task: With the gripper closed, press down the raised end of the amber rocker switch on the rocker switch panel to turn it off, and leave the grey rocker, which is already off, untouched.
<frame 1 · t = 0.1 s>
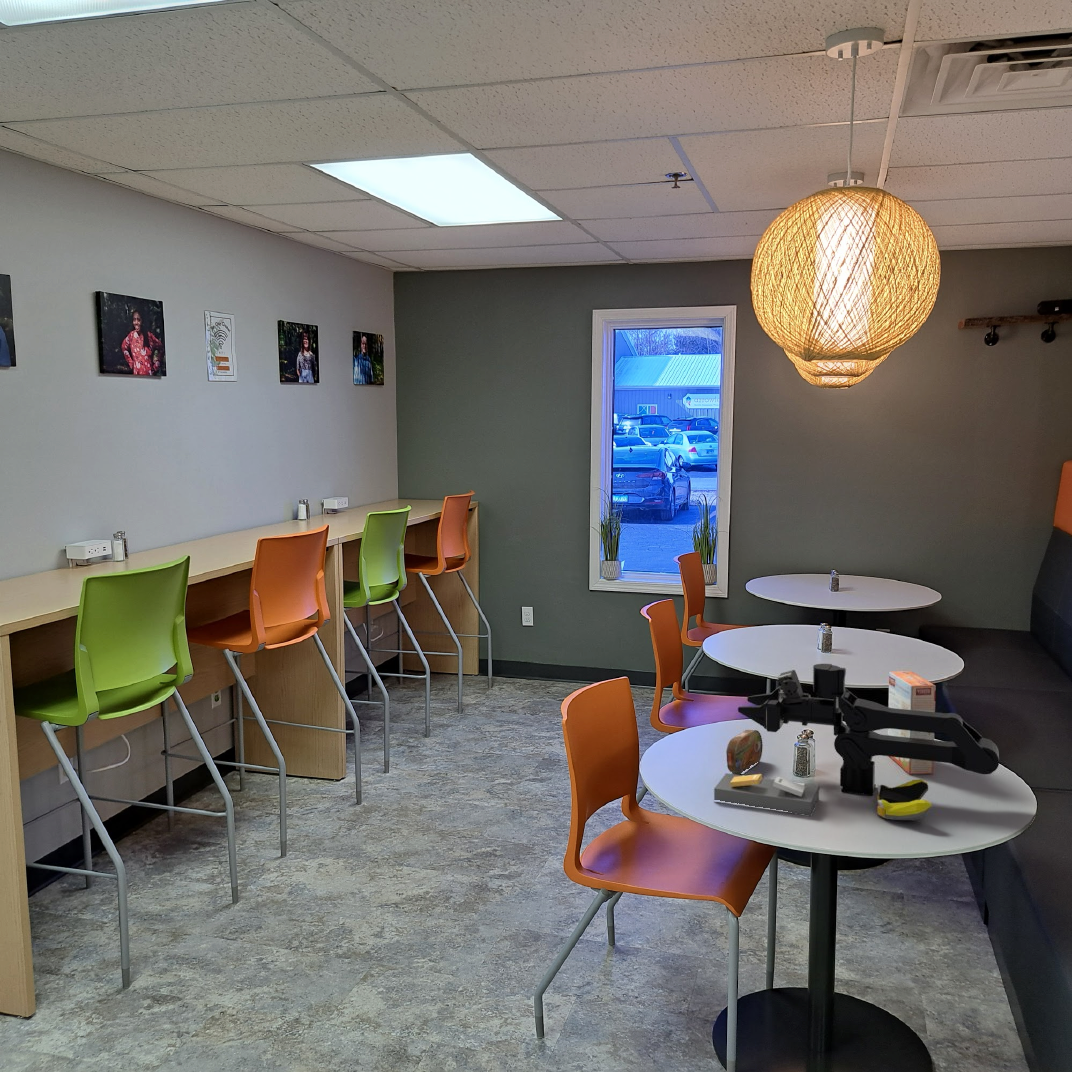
hand: (742, 704, 213), 17 cm above the table, tool horizontal, fingers open, 9 cm apart
rocker switch panel: (766, 800, 199), on the table
tin: (744, 769, 219), on the table
amber rocker: (746, 780, 199), point 4 cm above the table, hinge at 14.0°
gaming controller: (903, 814, 191), on the table
grey rocker: (789, 786, 195), point 4 cm above the table, hinge at -14.0°
cracker box: (910, 765, 219), on the table
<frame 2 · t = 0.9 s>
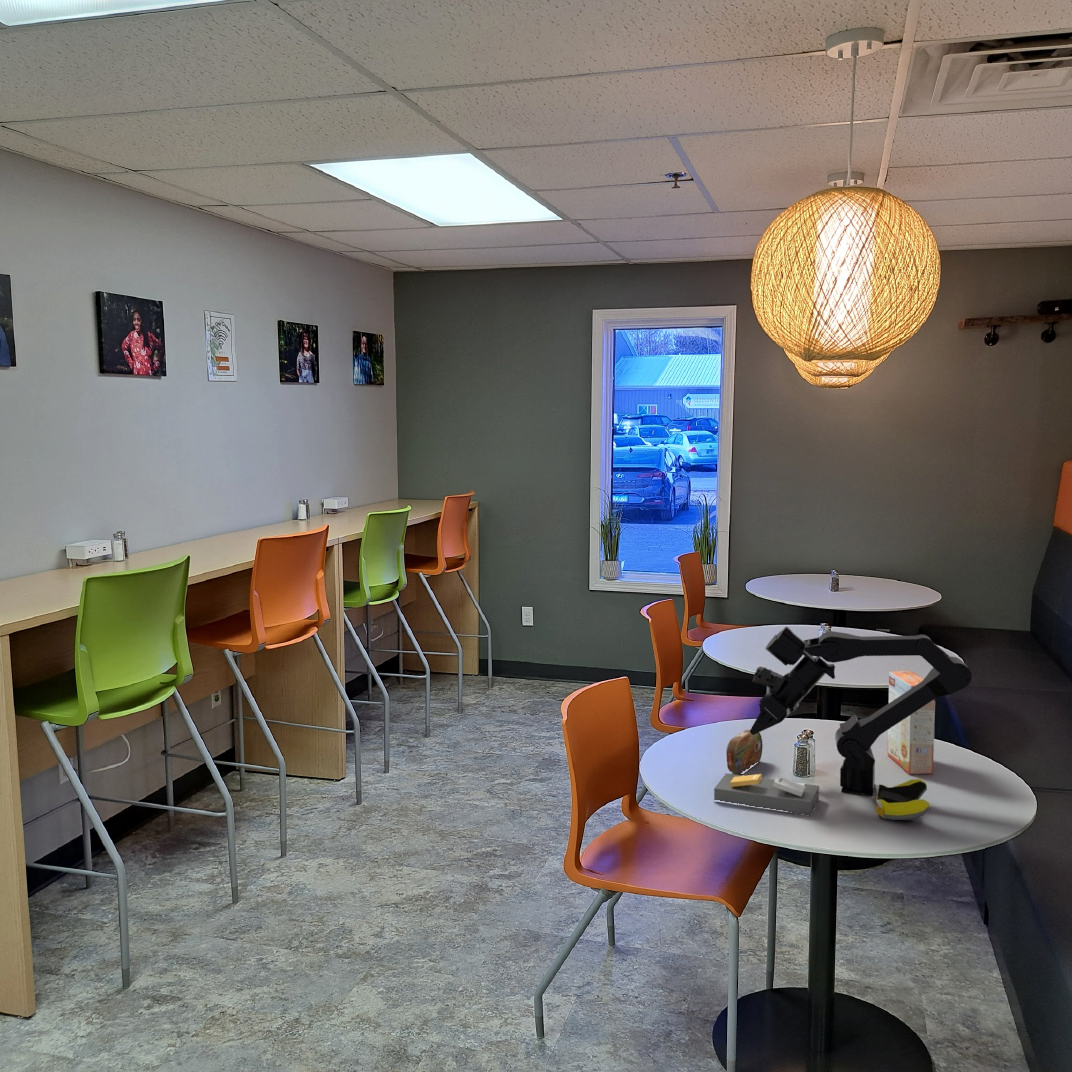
hand: (755, 730, 208), 12 cm above the table, tool tilted 40°, fingers open, 9 cm apart
nothing on the table moved.
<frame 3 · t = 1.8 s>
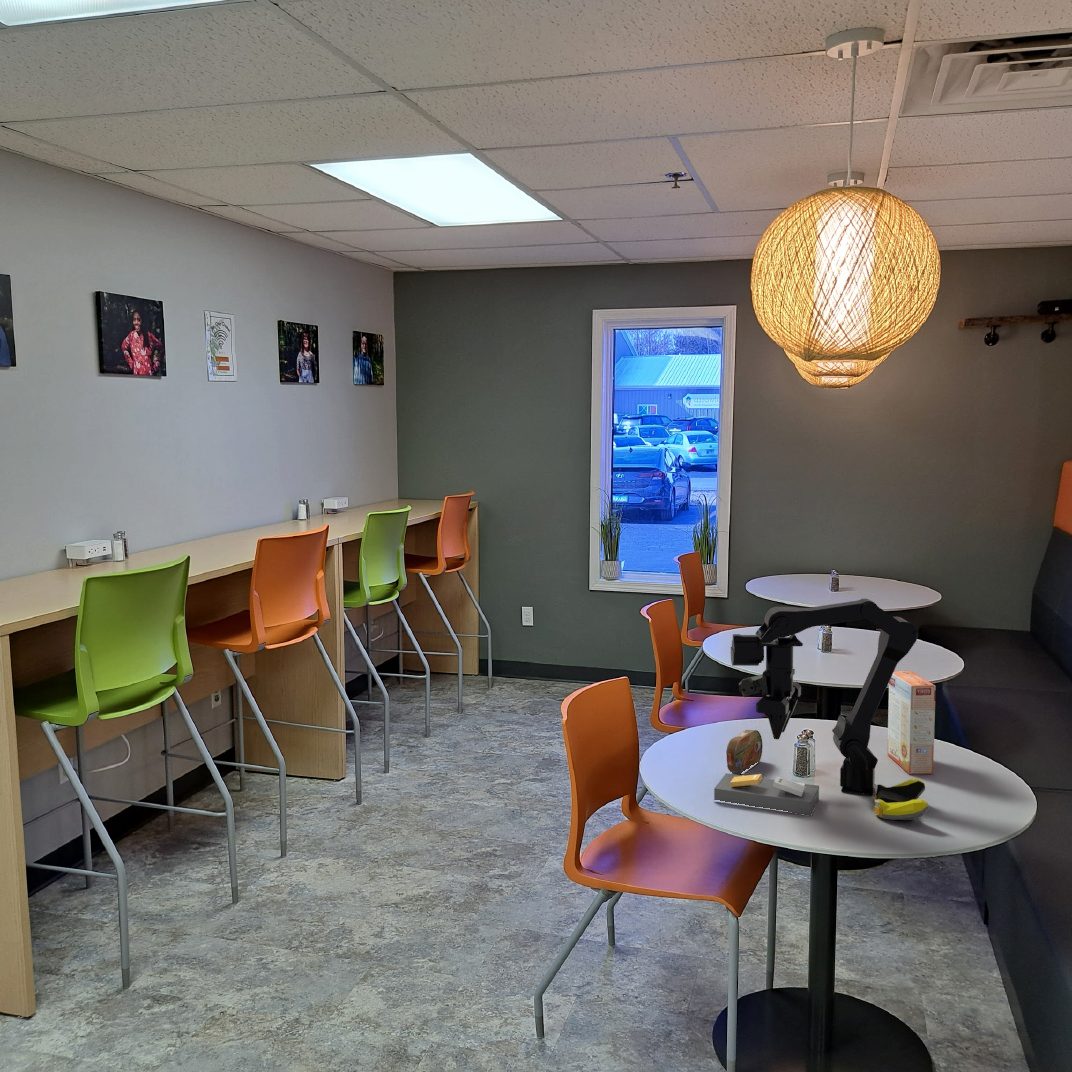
hand: (779, 735, 204), 12 cm above the table, tool pointing down, fingers open, 5 cm apart
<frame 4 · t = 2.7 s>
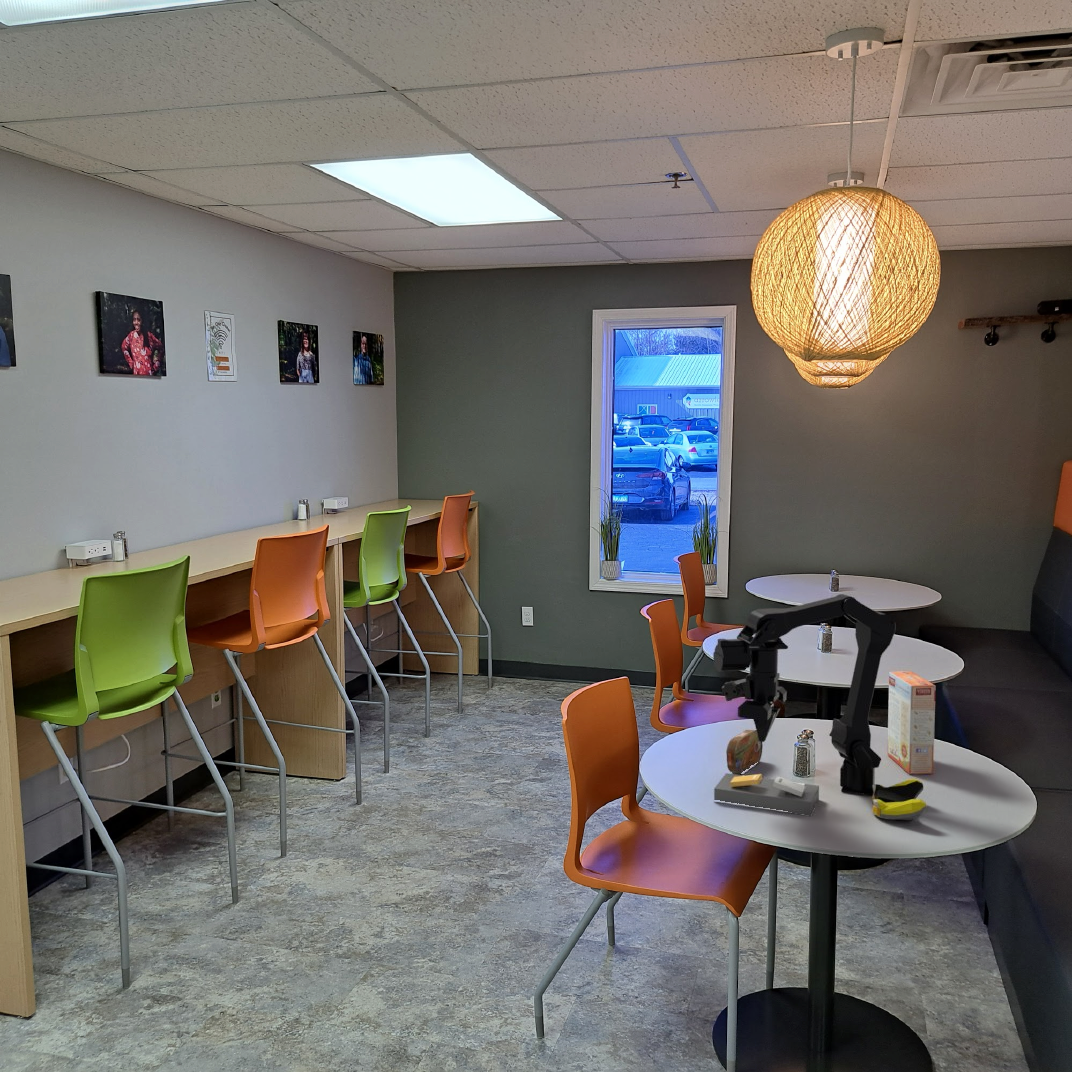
hand: (762, 741, 199), 12 cm above the table, tool pointing down, fingers closed
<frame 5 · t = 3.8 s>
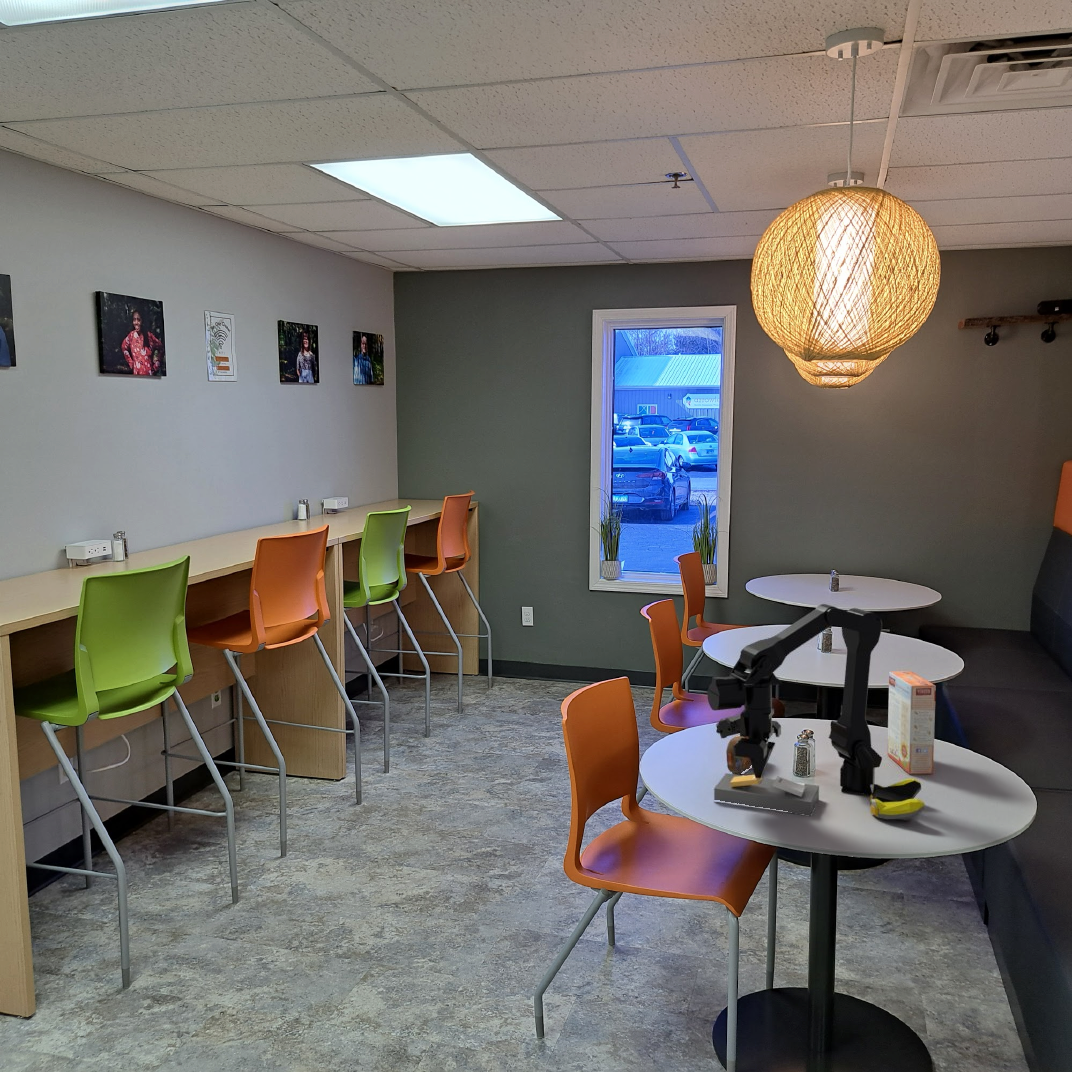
hand: (758, 777, 198), 5 cm above the table, tool pointing down, fingers closed, pressing on amber rocker
amber rocker: (746, 780, 199), point 4 cm above the table, hinge at 13.9°, touching gripper
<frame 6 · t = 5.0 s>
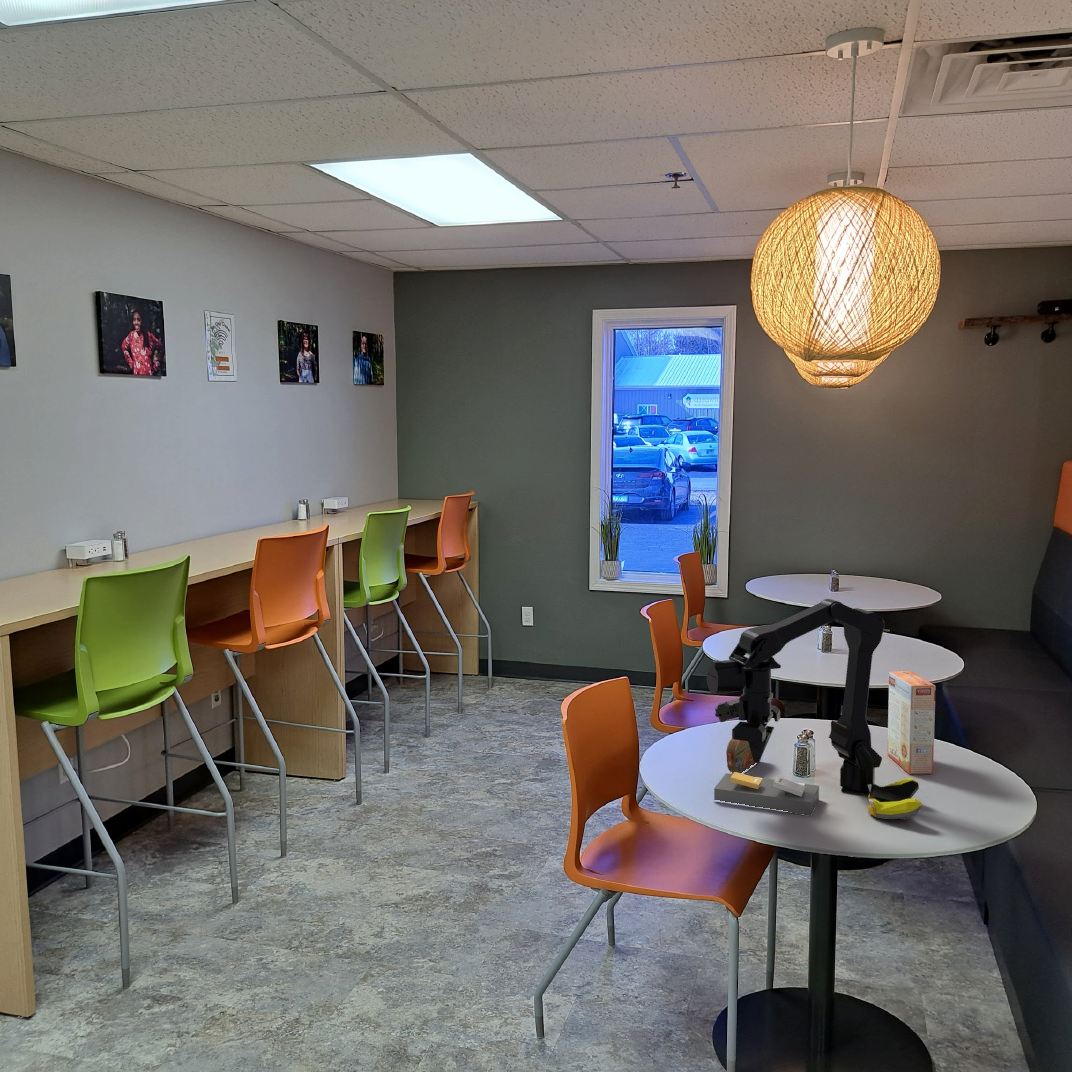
hand: (756, 762, 197), 9 cm above the table, tool pointing down, fingers closed
amber rocker: (746, 780, 199), point 4 cm above the table, hinge at -7.8°
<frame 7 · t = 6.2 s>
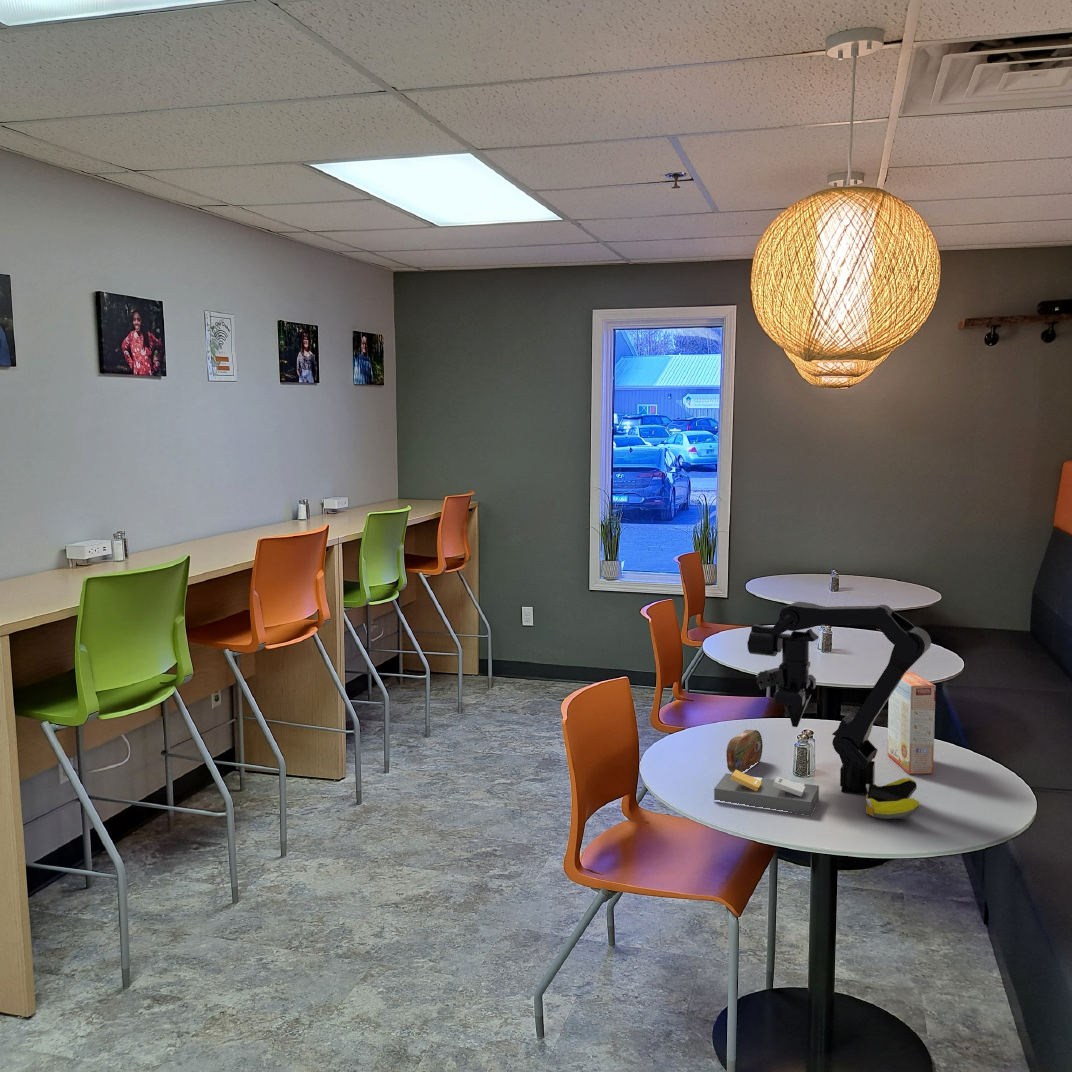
hand: (795, 726, 211), 12 cm above the table, tool pointing down, fingers closed
amber rocker: (746, 780, 199), point 4 cm above the table, hinge at -19.4°, touching rocker switch panel
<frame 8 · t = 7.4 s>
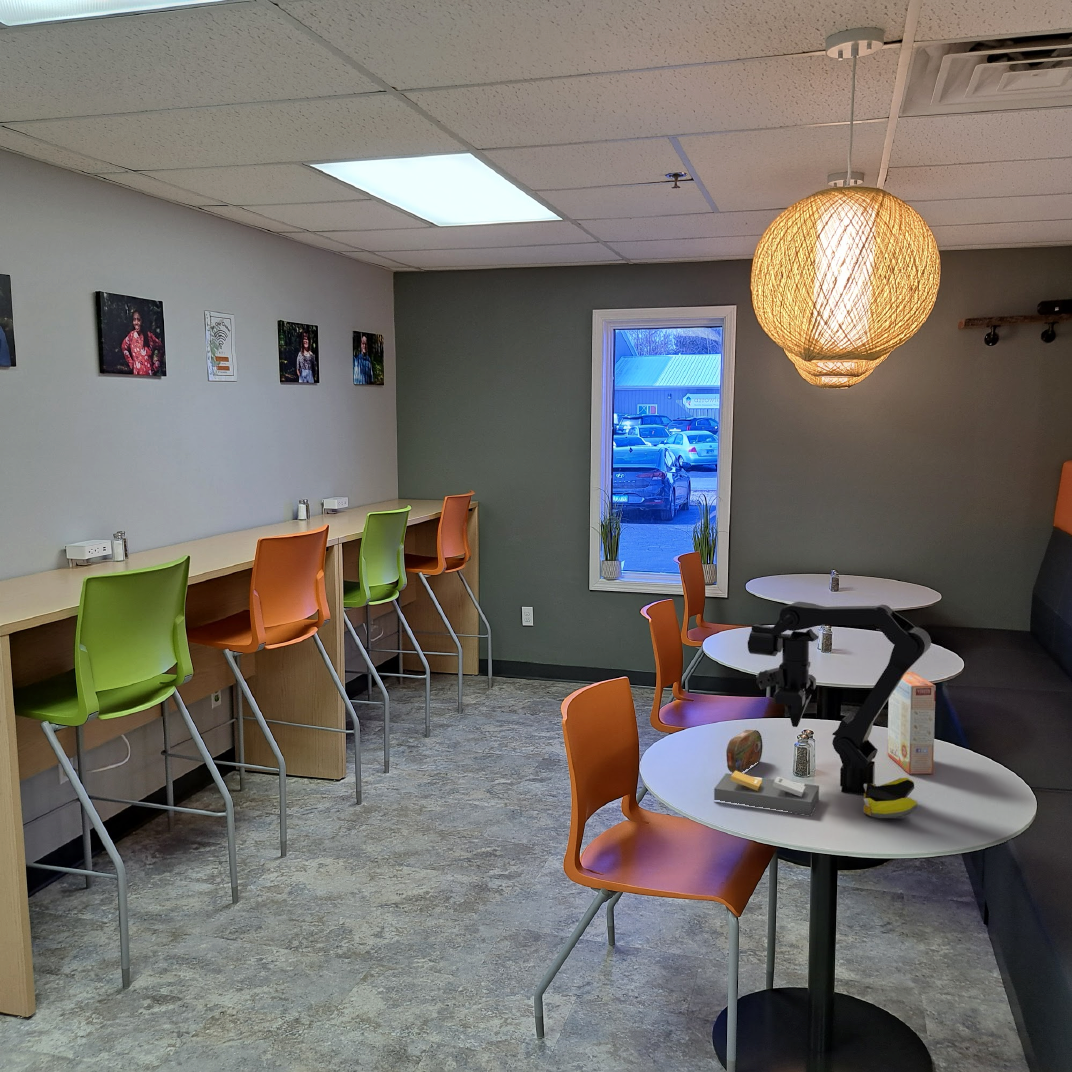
hand: (795, 726, 211), 12 cm above the table, tool pointing down, fingers closed
amber rocker: (746, 780, 199), point 4 cm above the table, hinge at -14.6°
at the end: amber rocker at -15° (first picture: +14°); grey rocker at -14° (first picture: -14°) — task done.
